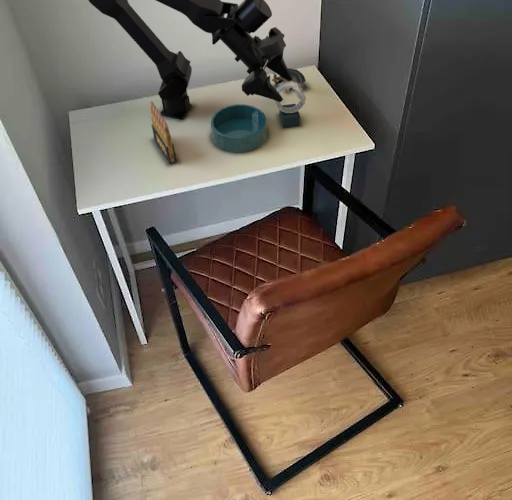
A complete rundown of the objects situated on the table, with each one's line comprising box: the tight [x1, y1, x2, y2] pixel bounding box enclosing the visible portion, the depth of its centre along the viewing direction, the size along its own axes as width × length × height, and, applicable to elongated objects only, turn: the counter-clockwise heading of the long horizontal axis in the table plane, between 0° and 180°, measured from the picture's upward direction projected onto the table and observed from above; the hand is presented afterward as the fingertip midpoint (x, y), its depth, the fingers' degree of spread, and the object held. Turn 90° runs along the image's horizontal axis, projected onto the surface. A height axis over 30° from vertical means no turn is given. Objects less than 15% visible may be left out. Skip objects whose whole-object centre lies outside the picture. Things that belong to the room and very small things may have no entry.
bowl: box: [210, 103, 268, 154], centre depth 145 cm, size 14×14×4 cm
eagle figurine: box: [271, 67, 308, 93], centre depth 158 cm, size 8×7×9 cm
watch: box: [274, 81, 307, 129], centre depth 146 cm, size 6×8×11 cm
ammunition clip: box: [149, 100, 178, 165], centre depth 139 cm, size 11×2×12 cm, turn 27°
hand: (286, 90), depth 144 cm, fingers open, 9 cm apart
